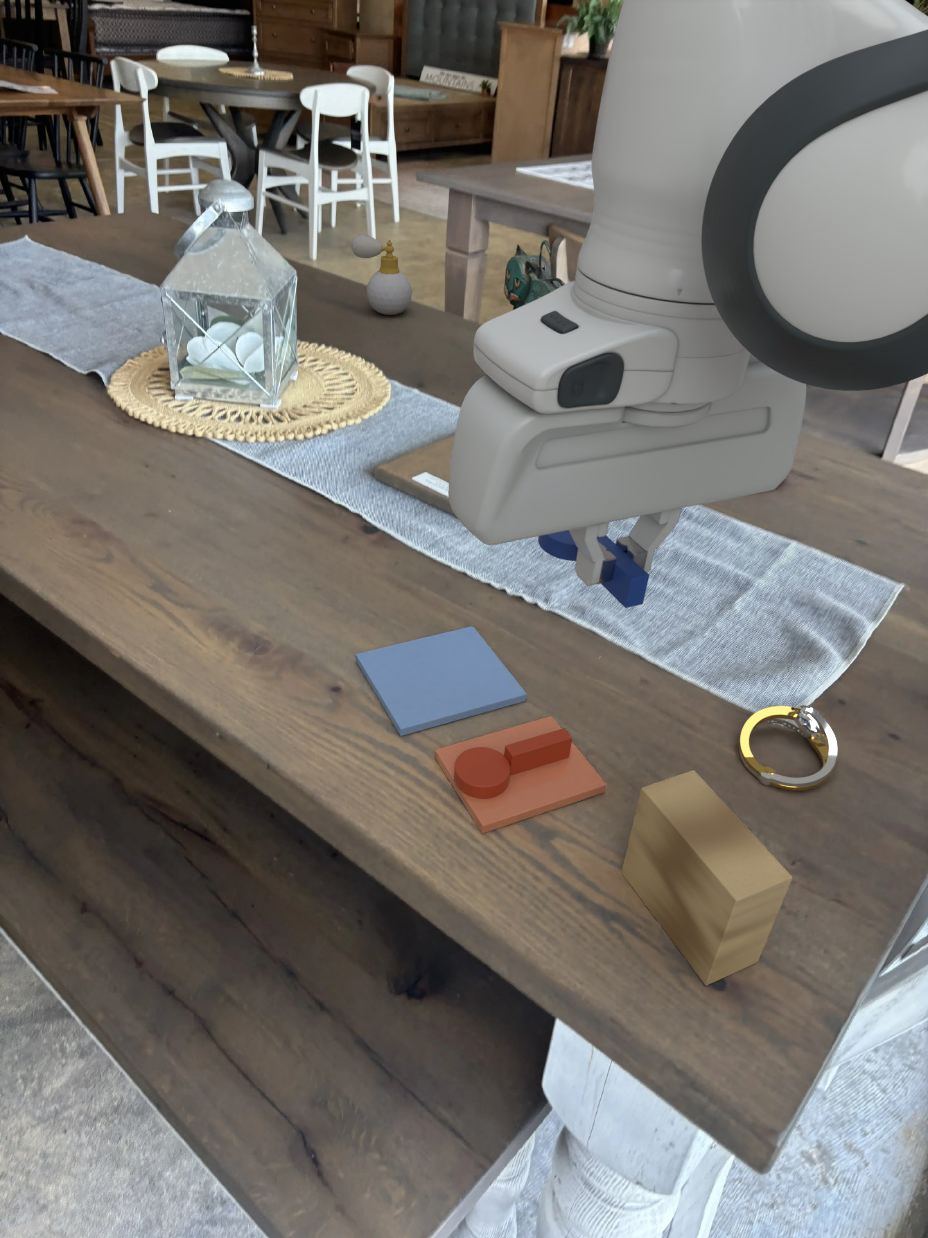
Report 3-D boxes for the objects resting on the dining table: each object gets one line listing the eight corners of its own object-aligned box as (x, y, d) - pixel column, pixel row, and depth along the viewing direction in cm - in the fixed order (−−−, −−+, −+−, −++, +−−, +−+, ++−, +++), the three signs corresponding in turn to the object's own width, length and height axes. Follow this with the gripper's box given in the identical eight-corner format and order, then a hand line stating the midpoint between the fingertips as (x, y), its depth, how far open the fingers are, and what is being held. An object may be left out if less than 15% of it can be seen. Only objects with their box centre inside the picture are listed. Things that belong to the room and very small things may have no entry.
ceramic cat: (493, 370, 134) (503, 226, 122) (533, 367, 135) (547, 224, 124) (547, 424, 119) (565, 265, 107) (592, 420, 120) (614, 263, 109)
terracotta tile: (605, 792, 66) (607, 784, 65) (482, 834, 62) (482, 826, 61) (550, 723, 71) (551, 715, 71) (434, 757, 68) (434, 749, 67)
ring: (805, 817, 66) (850, 749, 70) (813, 790, 64) (859, 722, 68) (718, 771, 70) (767, 709, 74) (723, 744, 68) (773, 682, 72)
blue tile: (526, 701, 73) (527, 693, 73) (400, 736, 69) (400, 729, 69) (472, 632, 81) (473, 625, 80) (355, 661, 76) (355, 653, 76)
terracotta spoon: (552, 735, 69) (555, 715, 68) (579, 770, 66) (583, 750, 65) (444, 767, 66) (445, 747, 64) (468, 805, 63) (470, 785, 62)
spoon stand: (758, 962, 55) (793, 877, 50) (705, 986, 53) (736, 901, 49) (670, 853, 61) (693, 769, 57) (620, 872, 60) (640, 787, 55)
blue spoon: (663, 599, 51) (670, 570, 50) (604, 613, 50) (610, 583, 49) (581, 523, 58) (585, 495, 57) (526, 533, 56) (530, 505, 55)
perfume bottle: (414, 319, 151) (416, 243, 144) (356, 320, 149) (355, 243, 142) (407, 305, 157) (408, 232, 150) (351, 306, 155) (349, 231, 148)
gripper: (778, 301, 50) (719, 518, 58) (443, 332, 42) (429, 578, 50) (863, 340, 46) (786, 569, 54) (506, 382, 38) (479, 643, 46)
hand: (611, 574), depth 52 cm, fingers closed on blue spoon, 1 cm apart
